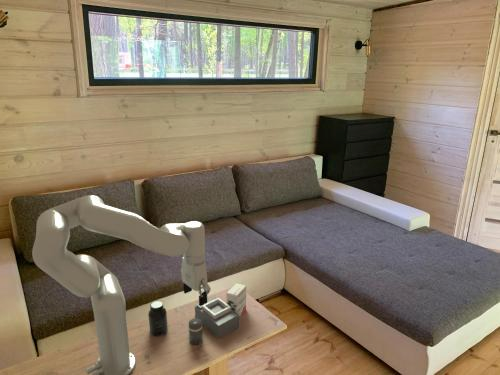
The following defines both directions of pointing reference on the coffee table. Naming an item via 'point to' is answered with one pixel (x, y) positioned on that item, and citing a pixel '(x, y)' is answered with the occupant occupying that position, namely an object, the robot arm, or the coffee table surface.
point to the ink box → (237, 298)
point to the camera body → (217, 316)
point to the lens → (195, 331)
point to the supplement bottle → (157, 318)
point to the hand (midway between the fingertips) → (195, 297)
